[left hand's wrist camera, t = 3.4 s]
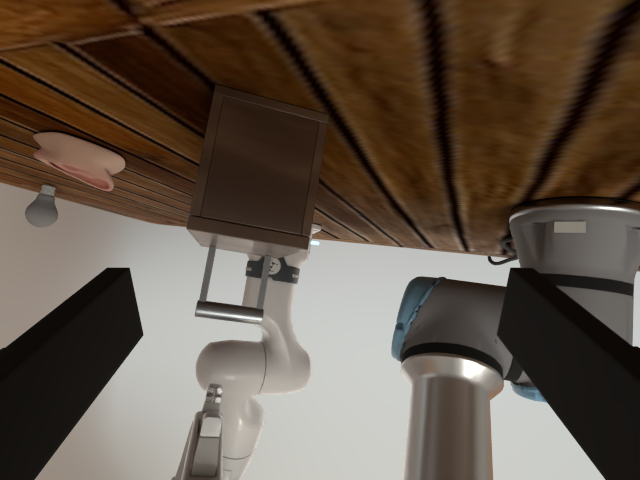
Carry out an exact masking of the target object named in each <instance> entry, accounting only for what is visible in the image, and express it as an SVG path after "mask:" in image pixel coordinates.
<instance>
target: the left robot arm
mask: <svg viewBox="0 0 640 480" xmlns="http://www.w3.org/2000/svg"><path fill="white" fill-rule="evenodd" d="M509 223H510V230H511V234H512V237H508V238H505V239H503V240H501V242H500V244H501V246H502V247H503V248H505V249H506V250H507V251H509V252H511V253H513V254H515V255H517V256H515V257H511V258H508V259H505V260H503V261H500V262H494V261H492V259H491V256H488V261H489V262H490V263H491V264H493V265H501V264H504V263H507V262H510V261H513V260H517V259H519V263H520V266H521V268H510V273H509V278H508V282H507V287H504V286H496V285H489V284H481V283H474V282H466V281H459V280H451V279H446V278H445V277H439V278H433V277H416V278H414V279H413V280H411V281H410V282H409V284H408V286H407V288H406V290H405V293H404V295H403V299H402V302H401V305H400V309H399V313H398V317H397V324H396V327H395V331H394V335H393V341H392V349H391V350H392V356H393V357H394V358H395V359H397V360H398V361H401V374H402V376H403V378H404V379H405V380H406V381H407V383H408V384H409V385H410V386H411V397H410V407H409V418H408V428H407V438H406V448H405V458H404V468H403V479H402V480H493V469H492V443H491V419H490V400H491V399H492V398H494V397H495V396H496V395H497V394H499V393H500V392H501V391H502V389H503V387H504V380H508V381H511V386H512V388H513V390H514V392H515V393H516V394H518V395H520V396H522V397H525V398H527V399H531V400H534V401H542V402H547V403H548V404H549V405H550V407H551V408H552V409H553V411H554V412H555V413H556V415H557V416H558V417H559V418H560V420H561V421H562V422H563V424H564V425H565V426H566V428H567V429H568V430H569V432H570V433H571V434H572V436H573V437H574V438H575V440H576V441H577V442H578V444H579V445H580V446H581V448H582V449H583V450H584V452H585V453H586V454H587V456H588V457H589V458H590V460H591V461H592V462H593V464H594V465H595V466H596V468H597V469H598V470H599V472H600V473H601V474H602V475H603V477H604V478H605V480H640V348H639V347H633V346H632V339H633V292H634V278H635V274H636V272H637V270H638V268H639V266H640V203H636V202H631V201H624V200H616V199H602V198H565V199H552V200H543V201H537V202H531V203H527V204H523V205H520V206H518V207H516V208H514V209H512V210H511V212H510V221H509ZM510 241H514V245H515V248H516V250H514V249H512V248H510V247H509V246H508V245H506V244H505V243H507V242H510ZM142 336H143V330H142V326H141V321H140V316H139V311H138V306H137V302H136V297H135V292H134V287H133V282H132V278H131V273H130V268H106V269H105V270H104V271H103V272H101V273H100V274H99V275H98V276H96V277H95V278H94V279H92V280H91V281H90V282H89V283H87V284H86V285H85V286H83V287H82V288H81V289H80V290H78V291H77V292H76V293H75V294H73V295H72V296H71V297H69V298H68V299H67V300H66V301H64V302H63V303H62V304H61V305H59V306H58V307H57V308H55V309H54V310H53V311H52V312H50V313H49V314H48V315H46V316H45V317H44V318H43V319H41V320H40V321H39V322H38V323H36V324H35V325H34V326H32V327H31V328H30V329H29V330H27V331H26V332H25V333H24V334H22V335H21V336H20V337H19V338H17V339H16V340H15V341H13V342H12V343H11V344H10V345H8V346H7V347H6V348H2V349H1V350H0V480H35V478H36V477H37V476H38V474H39V473H40V472H41V470H42V469H43V468H44V466H45V465H46V464H47V462H48V461H49V460H50V458H51V457H52V456H53V454H54V453H55V452H56V450H57V449H58V448H59V446H60V445H61V444H62V442H63V441H64V440H65V438H66V437H67V436H68V434H69V433H70V432H71V430H72V429H73V428H74V426H75V425H76V424H77V422H78V421H79V420H80V419H81V417H82V416H83V415H84V413H85V412H86V411H87V409H88V408H89V407H90V405H91V404H92V403H93V401H94V400H95V399H96V397H97V396H98V395H99V393H100V392H101V391H102V389H103V388H104V387H105V385H106V384H107V383H108V381H109V380H110V379H111V377H112V376H113V375H114V373H115V372H116V371H117V369H118V368H119V367H120V365H121V364H122V363H123V361H124V360H125V359H126V357H127V356H128V355H129V353H130V352H131V351H132V350H133V348H134V347H135V346H136V344H137V343H138V341H139V340H140V339H141V338H142Z"/></svg>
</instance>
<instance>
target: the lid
mask: <svg viewBox="0 0 640 480" xmlns="http://www.w3.org/2000/svg"><path fill="white" fill-rule="evenodd" d="M187 230H188V231H189V232H190V233H191V235H192V236H193V237H194V238H195V239H196V240H197V242H198V243H199V244H200V245H201V246H204V247H209V252H208V257H207V263H206V268H205V273H204V278H203V283H202V289H201V294H200V299H199V300H198V302H197V306H196V311H195V317H202V318H210V319H218V320H226V321H235V322H243V323H251V324H259V325H261V324H262V321H263V316H264V309H263V305H264V299H265V293H266V287H267V281H268V275H269V269H270V264H271V258H276V259H278V258H282V257H285V256H289V255H292V254H296V253H299V252H303V251H306V250H308V246H309V240H310V238H309V237H305V236H299V235H294V234H288V233H283V232H278V231H272V230H267V229H261V228H256V227H251V226H245V225H240V224H234V223H229V222H224V221H218V220H213V219H207V218H202V217H197V216H191V215H190V216H189V218H188V223H187ZM216 249H222V250H228V251H235V252H240V253H246V254H252V255H258V256H264V257H265V260H264V266H263V271H262V277H261V283H260V289H259V295H258V301H257V306H256V308H254V307H246V306H239V305H231V304H223V303H216V302H209V301H206V299H207V293H208V288H209V283H210V278H211V272H212V267H213V262H214V257H215V251H216Z"/></svg>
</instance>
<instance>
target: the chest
mask: <svg viewBox="0 0 640 480" xmlns="http://www.w3.org/2000/svg"><path fill="white" fill-rule="evenodd" d="M328 119H329V115H327V114H323V113H320V112H316V111H312V110H309V109H305V108H301V107H298V106H294V105H290V104H287V103H283V102H279V101H275V100H272V99H268V98H264V97H261V96H257V95H253V94H250V93H246V92H242V91H239V90H235V89H231V88H228V87H224V86H220V85H217V84H216V85H215V89H214V94H213V99H212V104H211V109H210V114H209V119H208V124H207V129H206V134H205V139H204V144H203V149H202V154H201V159H200V164H199V169H198V174H197V179H196V184H195V188H194V193H193V198H192V203H191V208H190V213H189V214H190V215H191V216H197V217H202V218H207V219H213V220H218V221H224V222H229V223H234V224H240V225H245V226H251V227H256V228H261V229H267V230H272V231H278V232H283V233H288V234H294V235H299V236H305V237H310V234H311V227H312V221H313V214H314V208H315V201H316V195H317V189H318V182H319V176H320V169H321V163H322V157H323V150H324V144H325V137H326V131H327V124H328Z"/></svg>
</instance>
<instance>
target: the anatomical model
mask: <svg viewBox="0 0 640 480" xmlns="http://www.w3.org/2000/svg"><path fill="white" fill-rule="evenodd" d="M33 138H34V139H35V140H36V141H37V142H38V143H39V144H40V146H41V149H39V150H36V151H35V152H34V157H35V158H37V159H38V160H40V161H42V162H44V163H46V164H48V165H50V166H52V167H54V168H56V169H57V170H59V171H61V172H63V173H65V174H68V175H70V176H72V177H74V178H76V179H78V180H80V181H83V182H85V183H87V184H89V185H91V186H94V187H96V188H99V189H101V190H105V191H111V190H112V189H113V187H114V183H113V179H112V177H111V176H112V175H113V174H116V173H118V172H120V171H122V170H123V169H124V167H125V161H124V159H123V158H122V157H121V156H120V155H118V154H116V153H114V152H112V151H110V150H108V149H106V148H103V147H101V146H98V145H96V144H93V143H90V142H88V141H85V140H82V139H79V138H76V137H73V136H70V135H67V134H63V133H58V132H43V133H37V134H34V135H33Z"/></svg>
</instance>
